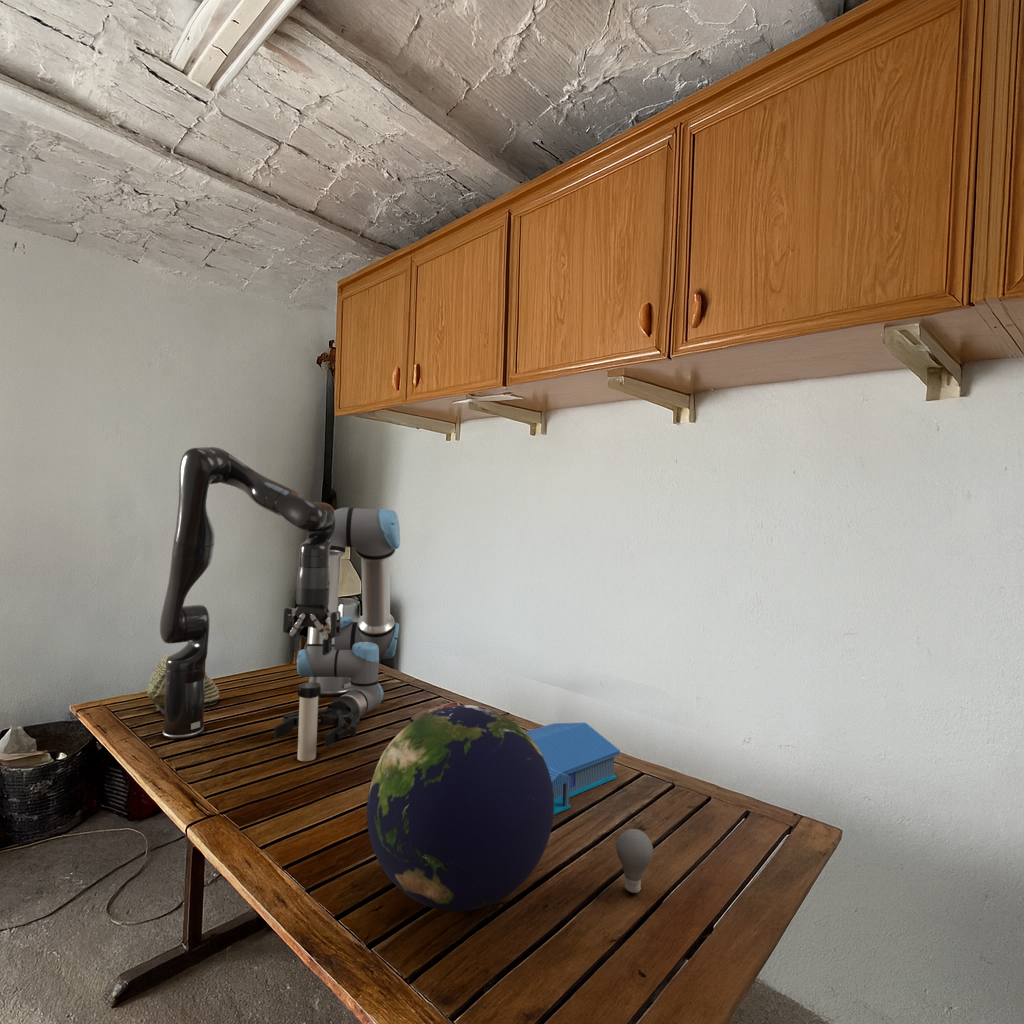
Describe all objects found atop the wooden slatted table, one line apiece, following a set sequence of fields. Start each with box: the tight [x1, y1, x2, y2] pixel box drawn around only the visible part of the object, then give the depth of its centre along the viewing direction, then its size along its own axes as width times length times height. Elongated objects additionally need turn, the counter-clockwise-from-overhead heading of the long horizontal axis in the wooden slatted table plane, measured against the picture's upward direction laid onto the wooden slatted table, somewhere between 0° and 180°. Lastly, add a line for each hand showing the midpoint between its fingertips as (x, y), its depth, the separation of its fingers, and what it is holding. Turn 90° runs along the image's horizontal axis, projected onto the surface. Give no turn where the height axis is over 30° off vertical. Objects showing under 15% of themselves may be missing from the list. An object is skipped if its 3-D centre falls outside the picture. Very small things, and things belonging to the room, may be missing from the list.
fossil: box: [147, 654, 221, 712], centre depth 185 cm, size 9×18×15 cm, turn 132°
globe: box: [366, 704, 555, 913], centre depth 102 cm, size 30×30×30 cm
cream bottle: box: [296, 696, 320, 762], centre depth 153 cm, size 4×4×17 cm
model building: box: [525, 722, 621, 816], centre depth 143 cm, size 39×24×10 cm, turn 132°
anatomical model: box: [410, 701, 461, 722], centre depth 184 cm, size 13×4×12 cm
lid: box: [297, 681, 321, 698], centre depth 153 cm, size 5×5×2 cm
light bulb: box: [615, 828, 654, 894], centre depth 106 cm, size 6×6×10 cm
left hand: (310, 652), depth 153 cm, fingers open, 7 cm apart
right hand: (300, 736), depth 150 cm, fingers open, 13 cm apart
